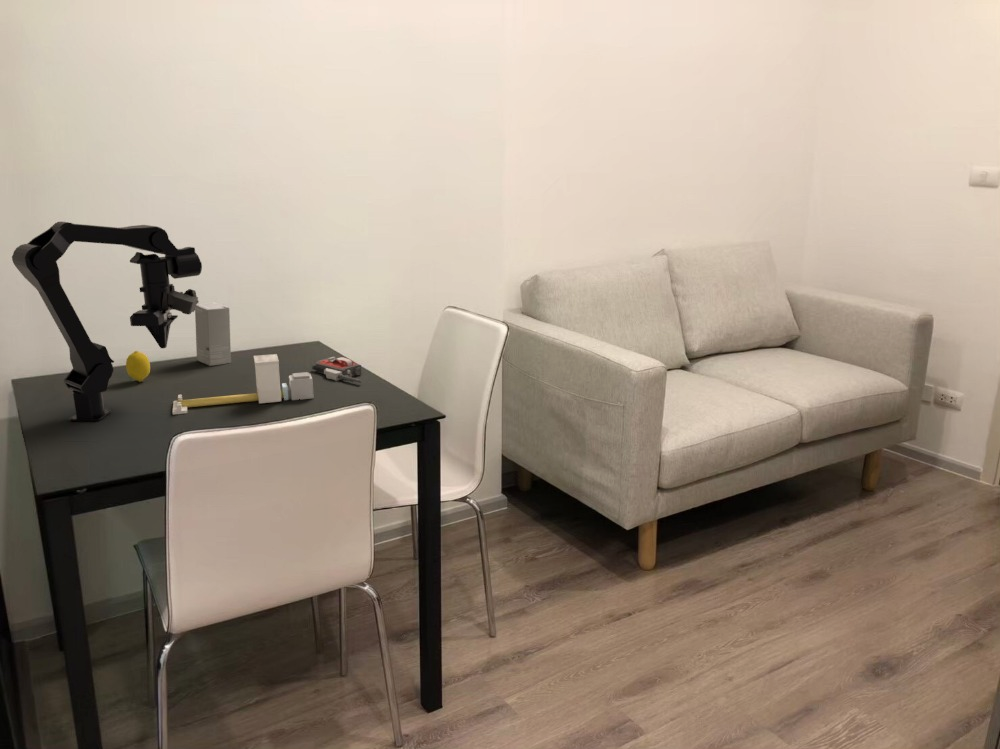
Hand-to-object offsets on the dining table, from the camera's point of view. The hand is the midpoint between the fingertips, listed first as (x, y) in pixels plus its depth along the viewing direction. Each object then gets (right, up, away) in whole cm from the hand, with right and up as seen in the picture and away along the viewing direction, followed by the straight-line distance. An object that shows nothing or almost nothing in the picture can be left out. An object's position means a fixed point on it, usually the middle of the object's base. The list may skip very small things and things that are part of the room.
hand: (163, 348), depth 194 cm
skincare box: (0, -3, +34) cm, 34 cm away
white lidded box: (+24, -12, +2) cm, 27 cm away
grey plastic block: (+30, -11, +4) cm, 33 cm away
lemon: (-12, -8, +16) cm, 21 cm away
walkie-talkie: (+38, -7, +21) cm, 44 cm away
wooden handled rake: (+17, -13, -1) cm, 21 cm away
